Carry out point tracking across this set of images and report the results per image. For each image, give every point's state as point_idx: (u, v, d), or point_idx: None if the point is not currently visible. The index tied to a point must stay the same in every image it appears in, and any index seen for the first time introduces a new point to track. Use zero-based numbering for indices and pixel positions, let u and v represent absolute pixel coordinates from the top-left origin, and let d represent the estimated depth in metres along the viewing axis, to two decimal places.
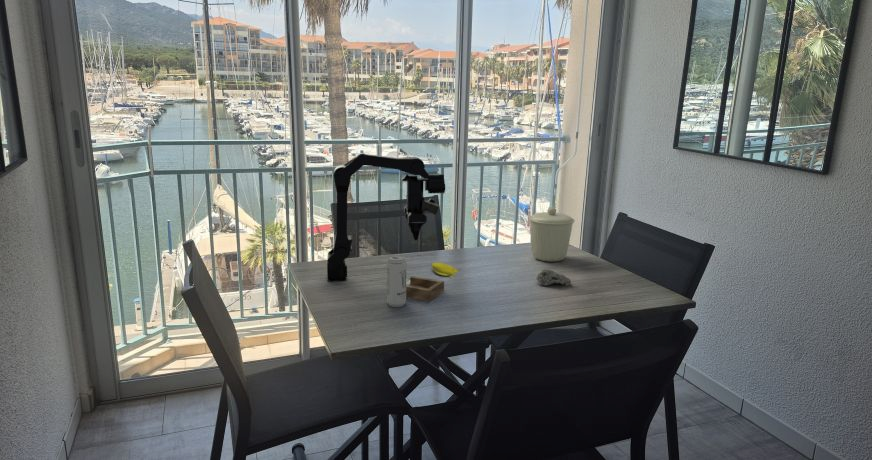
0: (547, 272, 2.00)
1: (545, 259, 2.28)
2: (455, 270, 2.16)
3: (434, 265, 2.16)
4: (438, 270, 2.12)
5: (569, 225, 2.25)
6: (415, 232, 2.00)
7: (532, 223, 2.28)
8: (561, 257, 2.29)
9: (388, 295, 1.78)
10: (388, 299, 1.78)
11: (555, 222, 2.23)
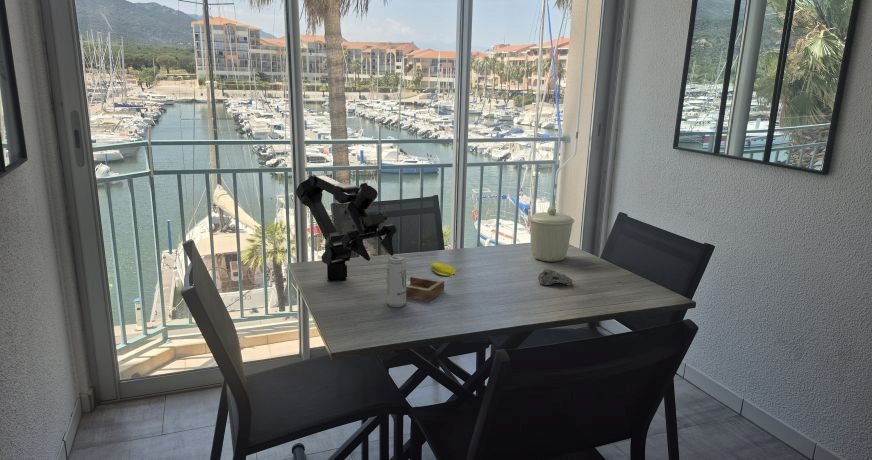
0: (548, 272, 2.01)
1: (545, 259, 2.28)
2: (454, 270, 2.16)
3: (433, 265, 2.16)
4: (438, 270, 2.12)
5: (569, 225, 2.25)
6: (362, 253, 1.81)
7: (532, 223, 2.28)
8: (561, 257, 2.29)
9: (388, 295, 1.78)
10: (388, 299, 1.78)
11: (555, 222, 2.23)
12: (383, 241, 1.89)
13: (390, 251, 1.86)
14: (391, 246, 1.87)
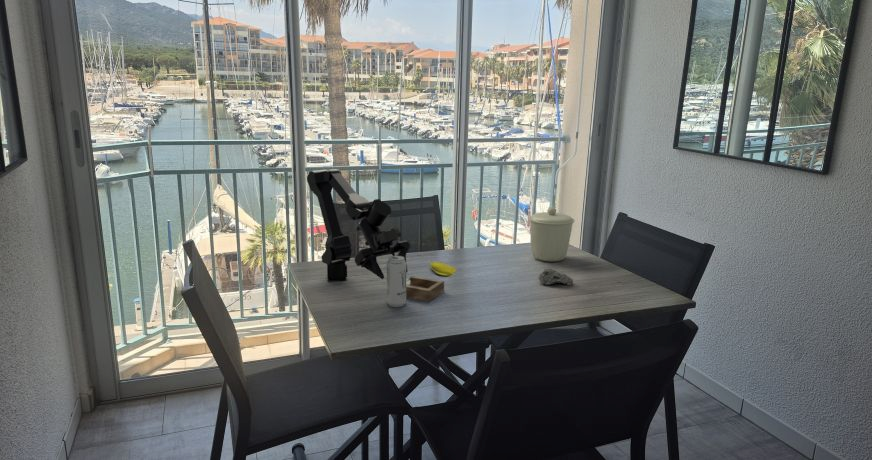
0: (549, 271, 2.01)
1: (545, 259, 2.28)
2: (454, 270, 2.16)
3: (433, 265, 2.16)
4: (437, 270, 2.12)
5: (569, 225, 2.25)
6: (375, 271, 1.77)
7: (532, 223, 2.28)
8: (561, 257, 2.29)
9: (388, 295, 1.78)
10: (388, 299, 1.78)
11: (555, 222, 2.23)
12: None
13: None
14: None
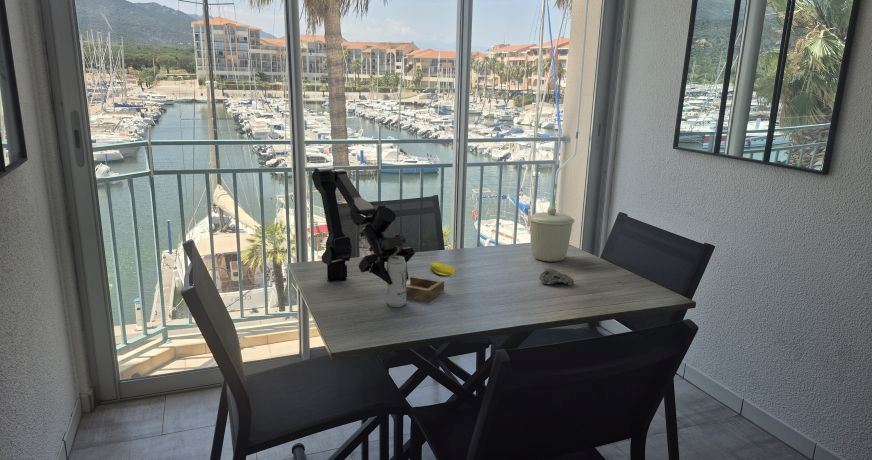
0: (550, 271, 2.01)
1: (545, 259, 2.28)
2: (454, 270, 2.16)
3: (433, 265, 2.16)
4: (437, 270, 2.12)
5: (569, 225, 2.25)
6: (383, 277, 1.76)
7: (532, 223, 2.28)
8: (561, 257, 2.29)
9: (388, 295, 1.78)
10: (388, 299, 1.78)
11: (555, 222, 2.23)
12: None
13: None
14: (406, 270, 1.80)
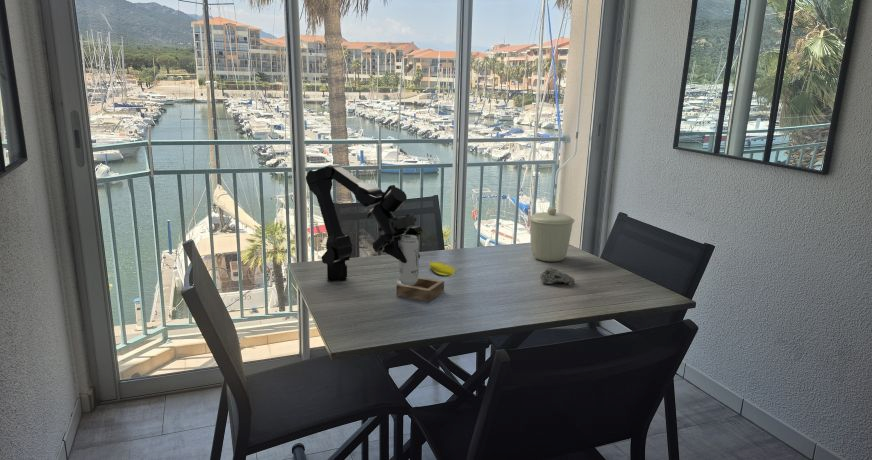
0: (550, 271, 2.02)
1: (545, 259, 2.28)
2: (453, 269, 2.16)
3: (432, 265, 2.16)
4: (437, 270, 2.12)
5: (569, 225, 2.25)
6: (398, 255, 1.79)
7: (532, 223, 2.28)
8: (561, 257, 2.29)
9: (402, 274, 1.81)
10: (402, 278, 1.81)
11: (555, 222, 2.23)
12: None
13: None
14: None
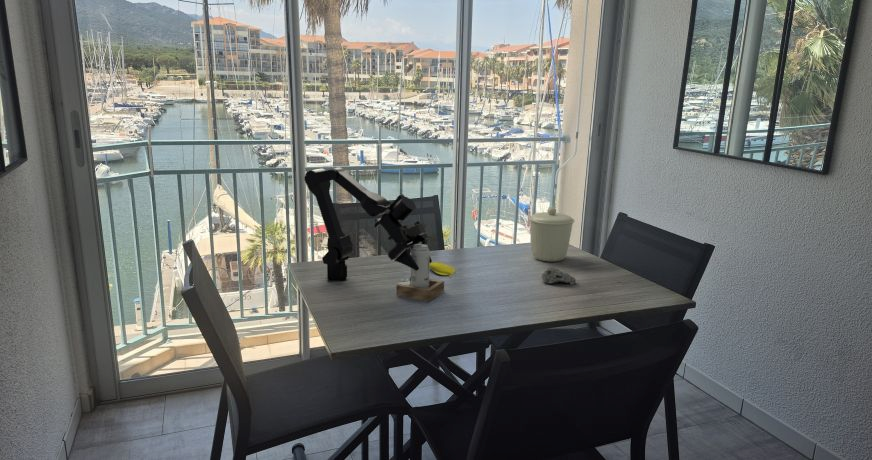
0: (552, 270, 2.02)
1: (545, 259, 2.28)
2: (453, 269, 2.16)
3: (432, 265, 2.16)
4: (437, 270, 2.12)
5: (569, 225, 2.25)
6: (410, 263, 1.84)
7: (532, 223, 2.28)
8: (561, 257, 2.29)
9: (415, 282, 1.88)
10: (415, 286, 1.88)
11: (555, 222, 2.23)
12: None
13: None
14: None
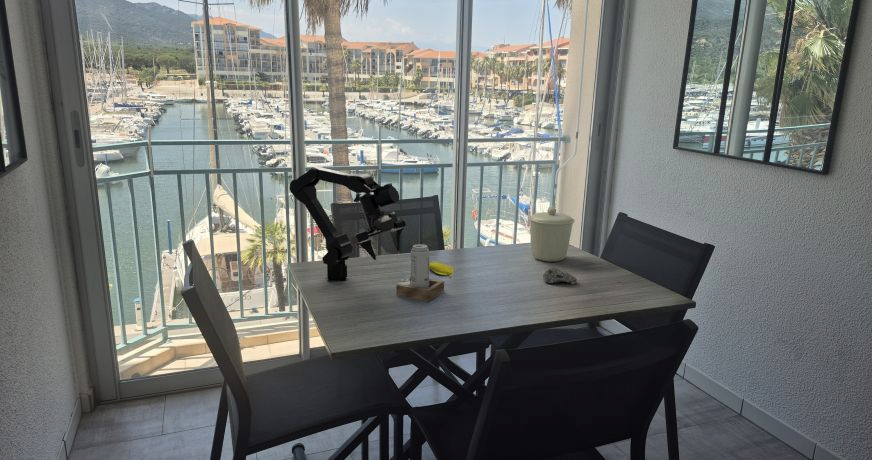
0: (553, 270, 2.03)
1: (545, 259, 2.28)
2: (452, 269, 2.16)
3: (431, 265, 2.16)
4: (436, 270, 2.12)
5: (569, 225, 2.25)
6: (369, 252, 1.91)
7: (532, 223, 2.28)
8: (561, 257, 2.29)
9: (415, 282, 1.87)
10: (415, 286, 1.88)
11: (555, 222, 2.23)
12: (392, 233, 1.97)
13: (397, 247, 1.96)
14: (398, 242, 1.95)
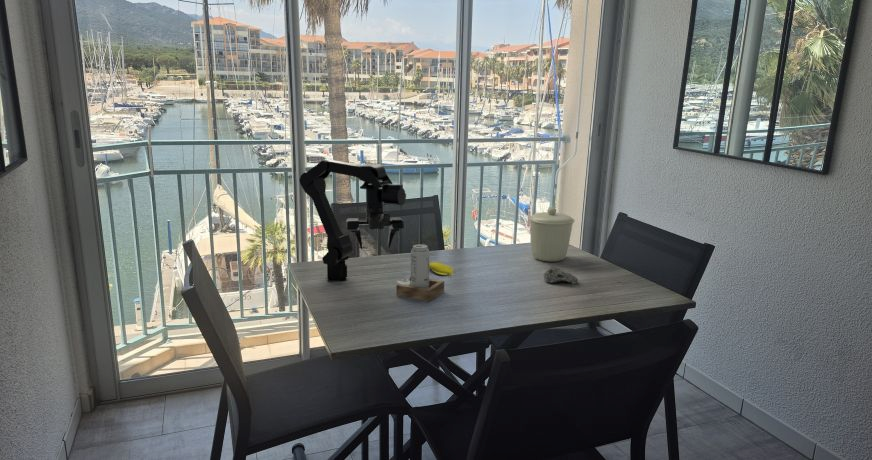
0: (553, 270, 2.03)
1: (545, 259, 2.28)
2: (452, 269, 2.17)
3: (431, 265, 2.16)
4: (436, 270, 2.12)
5: (569, 225, 2.25)
6: (358, 240, 1.94)
7: (532, 223, 2.28)
8: (561, 257, 2.29)
9: (415, 282, 1.87)
10: (415, 286, 1.88)
11: (555, 222, 2.23)
12: (389, 229, 1.96)
13: (388, 244, 1.96)
14: (390, 241, 1.95)
